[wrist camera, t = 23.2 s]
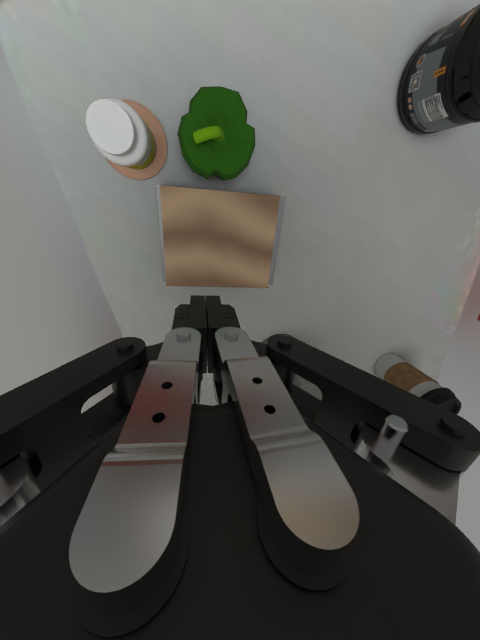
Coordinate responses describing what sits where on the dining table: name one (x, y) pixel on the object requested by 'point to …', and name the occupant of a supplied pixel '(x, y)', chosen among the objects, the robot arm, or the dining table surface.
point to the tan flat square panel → (217, 237)
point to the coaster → (160, 146)
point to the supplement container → (444, 78)
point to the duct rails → (275, 246)
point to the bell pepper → (216, 133)
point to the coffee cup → (415, 382)
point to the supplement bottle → (120, 133)
